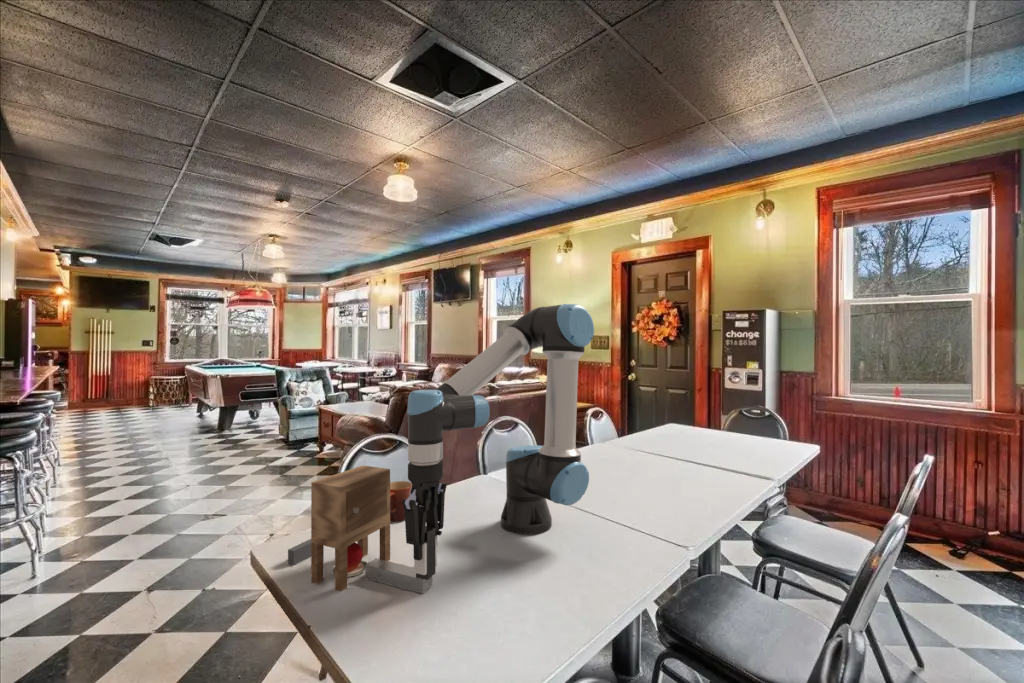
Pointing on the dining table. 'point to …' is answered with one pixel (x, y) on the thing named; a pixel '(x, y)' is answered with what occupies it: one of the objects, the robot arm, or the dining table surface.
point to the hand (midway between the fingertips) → (425, 568)
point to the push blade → (405, 569)
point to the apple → (354, 560)
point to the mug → (398, 499)
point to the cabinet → (348, 517)
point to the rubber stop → (299, 553)
